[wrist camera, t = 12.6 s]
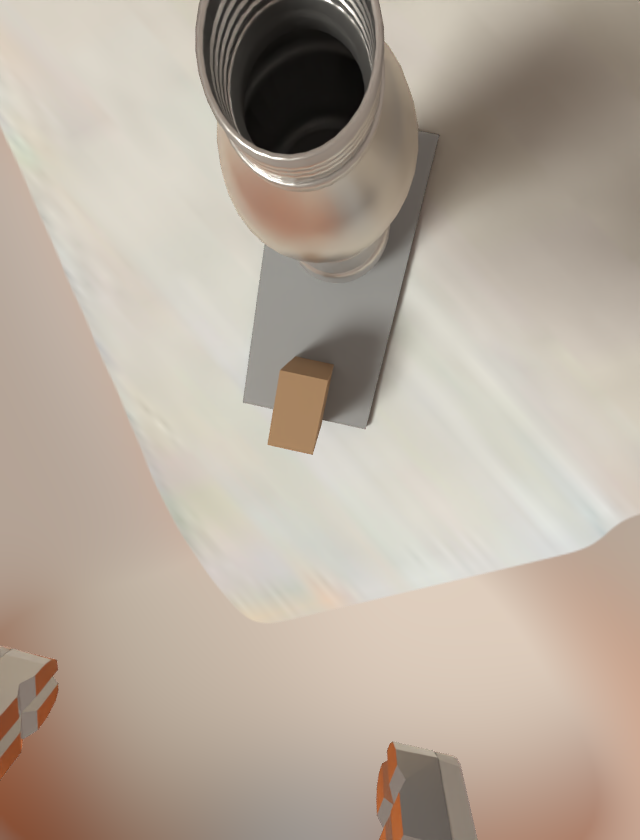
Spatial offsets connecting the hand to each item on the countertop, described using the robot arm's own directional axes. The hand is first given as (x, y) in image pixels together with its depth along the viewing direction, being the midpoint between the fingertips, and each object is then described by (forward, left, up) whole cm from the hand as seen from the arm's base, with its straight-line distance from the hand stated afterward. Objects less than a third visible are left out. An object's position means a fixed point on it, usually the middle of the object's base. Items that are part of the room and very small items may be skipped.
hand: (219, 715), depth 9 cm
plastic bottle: (-14, -1, -23) cm, 27 cm away
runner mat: (-10, -1, -23) cm, 25 cm away
